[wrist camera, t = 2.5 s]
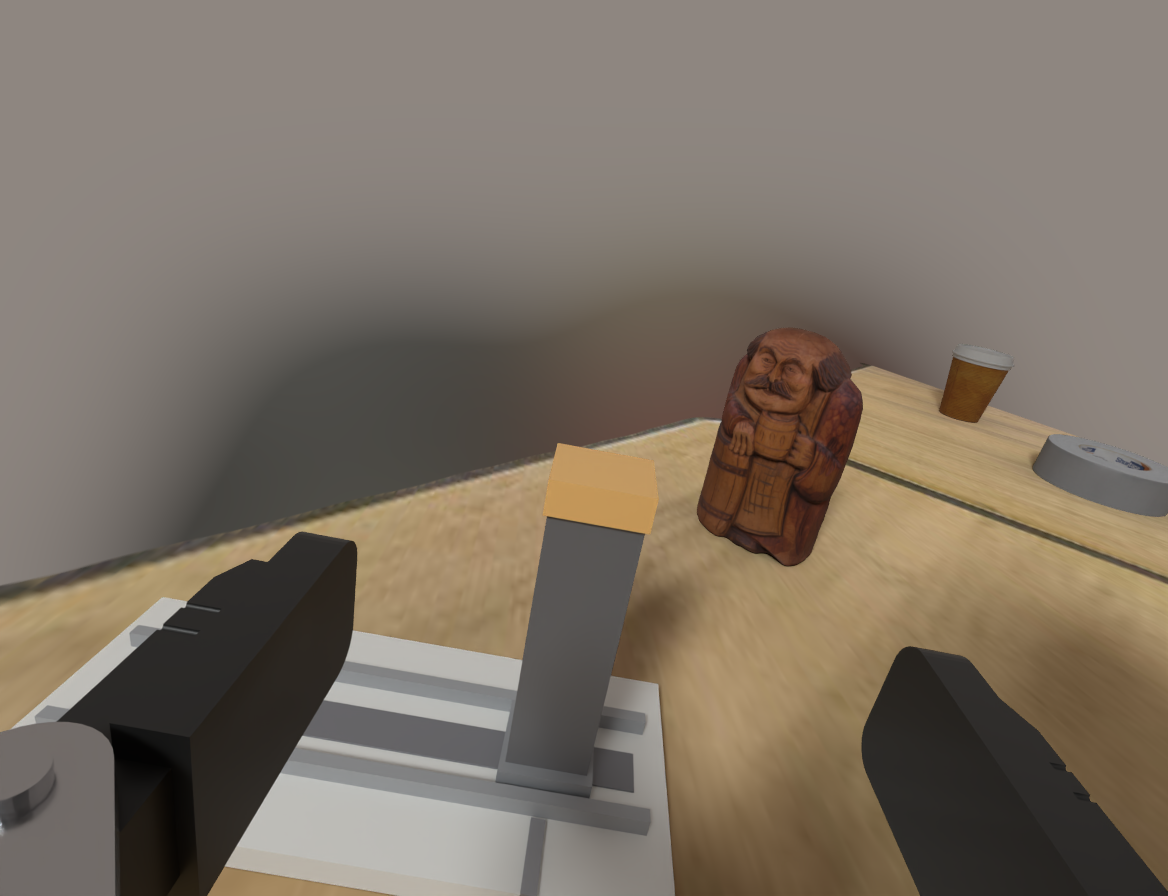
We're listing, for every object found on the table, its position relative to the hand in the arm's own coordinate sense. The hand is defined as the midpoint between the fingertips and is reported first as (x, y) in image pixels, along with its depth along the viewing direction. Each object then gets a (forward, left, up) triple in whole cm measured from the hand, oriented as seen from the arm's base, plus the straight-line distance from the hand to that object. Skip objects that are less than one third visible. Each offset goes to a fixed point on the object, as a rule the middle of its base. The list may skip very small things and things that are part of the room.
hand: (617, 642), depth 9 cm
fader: (0, -13, -17) cm, 22 cm away
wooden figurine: (-15, -42, -19) cm, 48 cm away
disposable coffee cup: (-65, -102, -19) cm, 122 cm away
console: (+8, -14, -19) cm, 25 cm away
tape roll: (-70, -74, -19) cm, 103 cm away
